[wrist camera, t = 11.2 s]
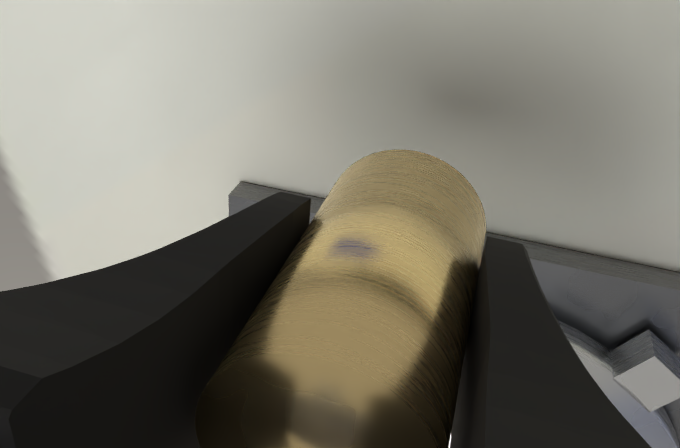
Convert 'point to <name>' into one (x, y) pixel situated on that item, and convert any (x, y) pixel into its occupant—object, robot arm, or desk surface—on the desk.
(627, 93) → the desk surface
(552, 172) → the desk surface
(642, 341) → the tabbed metal disc
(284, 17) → the desk surface
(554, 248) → the base plate
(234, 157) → the desk surface
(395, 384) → the roller
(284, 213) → the robot arm
